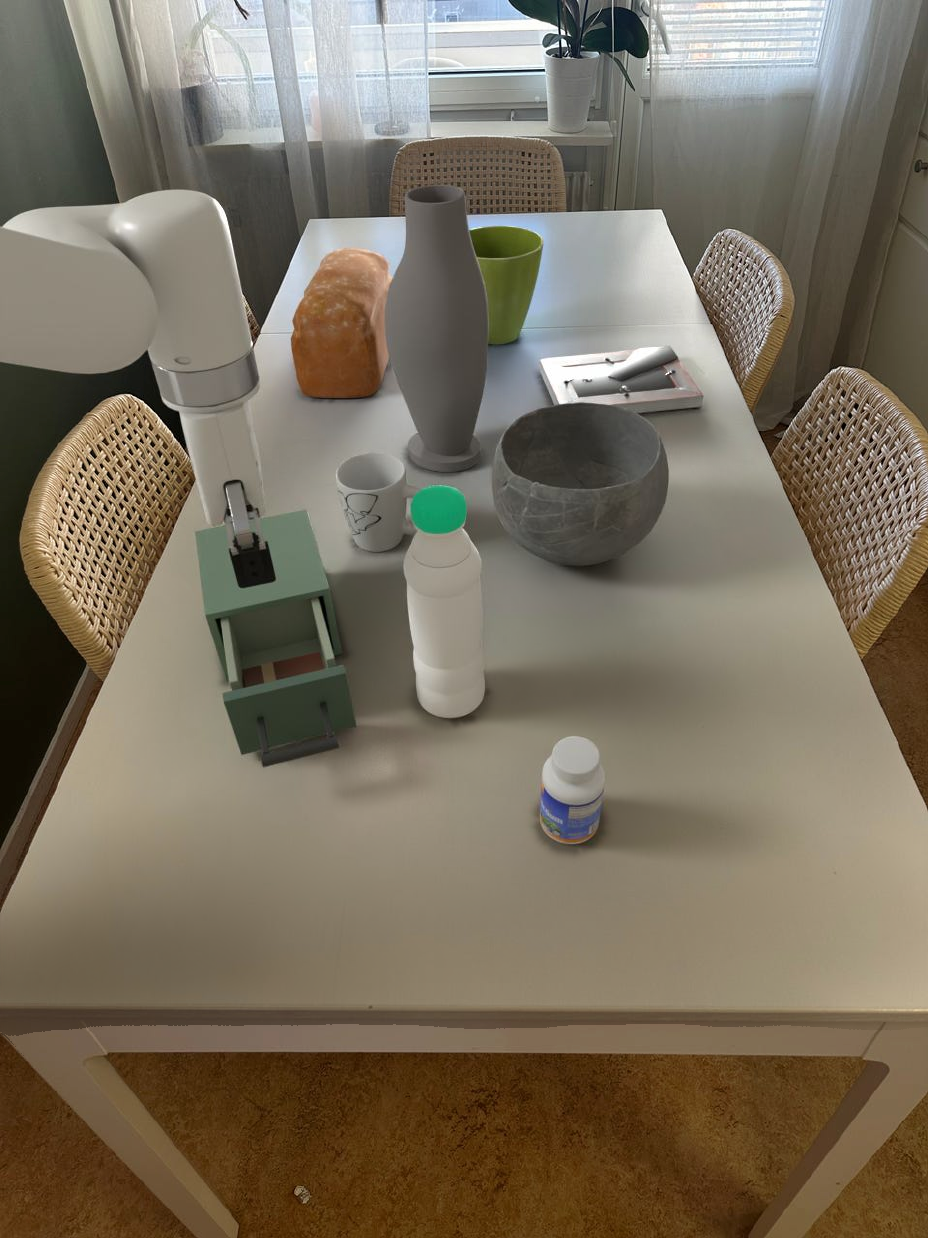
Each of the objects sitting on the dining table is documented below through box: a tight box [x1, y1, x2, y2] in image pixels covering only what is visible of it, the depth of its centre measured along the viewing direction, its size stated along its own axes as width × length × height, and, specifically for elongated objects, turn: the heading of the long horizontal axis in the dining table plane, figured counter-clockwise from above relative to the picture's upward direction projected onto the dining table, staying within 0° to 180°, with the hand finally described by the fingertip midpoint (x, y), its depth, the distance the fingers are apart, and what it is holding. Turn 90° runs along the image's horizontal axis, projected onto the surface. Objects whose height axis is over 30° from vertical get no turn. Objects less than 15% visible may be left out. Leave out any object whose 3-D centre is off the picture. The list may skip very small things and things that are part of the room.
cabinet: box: [194, 508, 343, 681], centre depth 96 cm, size 15×13×10 cm
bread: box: [290, 247, 393, 399], centre depth 141 cm, size 14×26×16 cm, turn 176°
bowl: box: [490, 402, 670, 567], centre depth 103 cm, size 20×20×15 cm
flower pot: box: [469, 225, 545, 345], centre depth 146 cm, size 15×15×16 cm
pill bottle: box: [539, 735, 606, 845], centre depth 75 cm, size 5×5×10 cm
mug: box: [335, 451, 423, 553], centre depth 106 cm, size 11×8×10 cm
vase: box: [385, 184, 489, 473], centre depth 112 cm, size 13×13×35 cm
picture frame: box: [538, 345, 705, 415], centre depth 135 cm, size 16×2×22 cm
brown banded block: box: [242, 652, 325, 688], centre depth 88 cm, size 4×8×3 cm, turn 107°
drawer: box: [221, 597, 357, 768], centre depth 85 cm, size 19×11×8 cm, turn 17°
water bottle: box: [403, 484, 486, 719], centre depth 82 cm, size 7×7×25 cm
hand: (251, 549), depth 77 cm, fingers open, 9 cm apart
